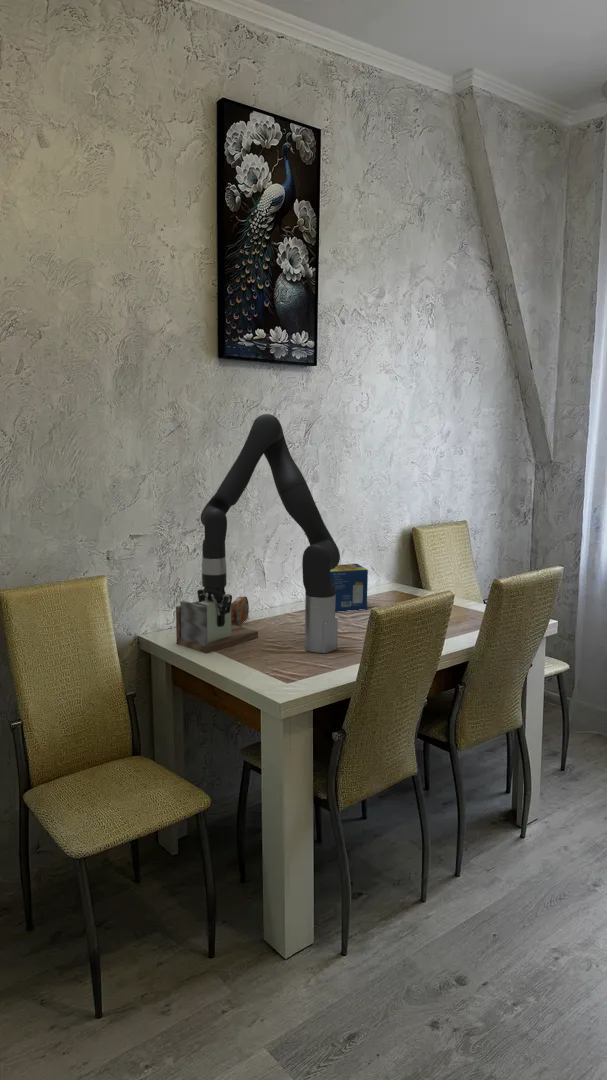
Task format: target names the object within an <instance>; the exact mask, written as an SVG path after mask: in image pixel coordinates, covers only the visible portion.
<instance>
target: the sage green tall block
mask: <svg viewBox="0 0 607 1080" xmlns="http://www.w3.org/2000/svg"><path fill="white" fill-rule="evenodd" d="M221 604H222V602H221V603H219V604H218V605H221ZM198 605H202V606H205V607H207V643H208V642H212V641H215V640H219V639H222V638H225V637H229V636H231V608H230V613H227V614H225V624H224V626H222V627H218V623H217V615H218V613H217V609H216V608H215V603H214V602H213V601H203V602H198ZM226 609H227V608H226ZM220 610H221V611H222V609H221V607H220Z"/></svg>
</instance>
